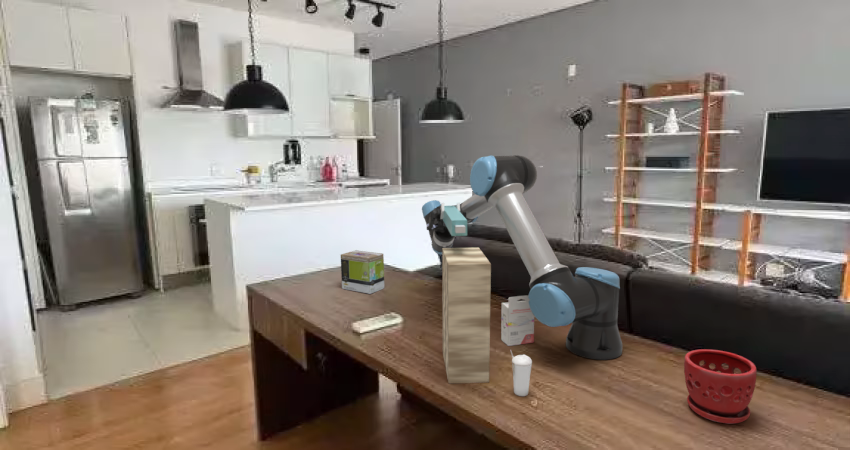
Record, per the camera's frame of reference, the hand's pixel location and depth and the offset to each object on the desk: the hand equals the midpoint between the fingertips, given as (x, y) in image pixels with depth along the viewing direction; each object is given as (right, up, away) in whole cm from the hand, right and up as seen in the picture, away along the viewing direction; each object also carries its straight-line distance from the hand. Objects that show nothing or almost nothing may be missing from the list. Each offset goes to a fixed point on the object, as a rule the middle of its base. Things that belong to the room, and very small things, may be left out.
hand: (450, 207), depth 142 cm
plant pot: (+55, -46, -39) cm, 82 cm away
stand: (+3, -43, -17) cm, 46 cm away
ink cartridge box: (+20, -40, -1) cm, 45 cm away
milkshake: (+15, -45, -30) cm, 56 cm away
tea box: (-33, -32, +51) cm, 69 cm away
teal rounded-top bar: (0, -6, -7) cm, 9 cm away
